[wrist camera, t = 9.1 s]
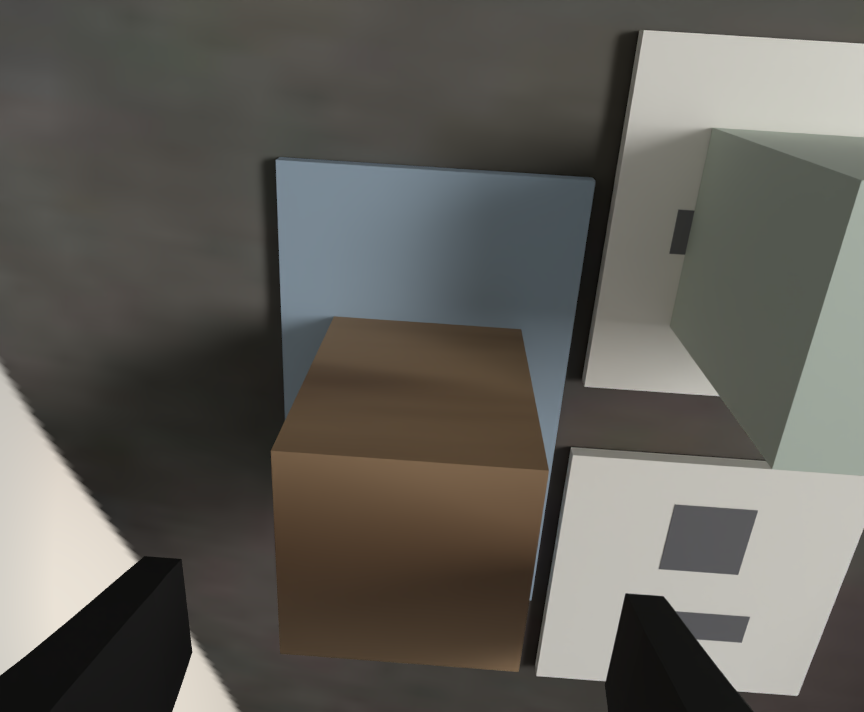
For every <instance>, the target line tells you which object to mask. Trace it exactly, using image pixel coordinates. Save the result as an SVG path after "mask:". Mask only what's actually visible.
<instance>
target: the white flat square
mask: <svg viewBox="0 0 864 712" xmlns="http://www.w3.org/2000/svg"><path fill="white" fill-rule="evenodd" d="M712 128H727V129H743V130H758V131H774V132H789V133H805V134H821V135H836V136H852V137H864V44H858V43H842V42H826V41H810V40H794V39H778V38H762V37H746V36H729V35H713V34H697V33H681V32H665V31H649V30H639V35H638V41H637V47H636V53H635V59H634V66H633V72H632V78H631V84H630V90H629V96H628V102H627V108H626V114H625V120H624V126H623V133H622V139H621V145H620V151H619V157H618V163H617V169H616V175H615V181H614V187H613V193H612V200H611V206H610V212H609V218H608V224H607V230H606V236H605V242H604V248H603V254H602V260H601V267H600V273H599V279H598V285H597V291H596V297H595V303H594V309H593V315H592V321H591V327H590V333H589V340H588V346H587V352H586V358H585V364H584V370H583V376H582V381H583V384H584V387H595V388H610V389H624V390H638V391H653V392H667V393H681V394H696V395H710V396H719V395H718V393H717V392H716V390H715V389H714V388H713V386H712V385H711V383H710V382H709V381H708V379H707V378H706V376H705V375H704V374H703V372H702V371H701V369H700V368H699V367H698V365H697V364H696V363H695V361H694V360H693V358H692V357H691V356H690V354H689V353H688V351H687V350H686V349H685V347H684V346H683V344H682V343H681V342H680V340H679V339H678V337H677V336H676V335H675V333H674V332H673V330H672V329H671V328H670V322H671V318H672V313H673V309H674V304H675V299H676V295H677V290H678V285H679V281H680V276H681V271H682V267H683V262H684V257H685V253H686V248H687V244H688V239H689V234H690V230H691V225H692V220H693V216H694V211H695V206H696V202H697V197H698V192H699V188H700V183H701V179H702V174H703V169H704V165H705V160H706V155H707V151H708V146H709V141H710V137H711V132H712Z"/></svg>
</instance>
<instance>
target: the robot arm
mask: <svg viewBox="0 0 864 712" xmlns="http://www.w3.org/2000/svg"><path fill="white" fill-rule="evenodd" d="M191 654H192V646H191V637H190V629H189V620H188V611H187V603H186V594H185V585H184V576H183V568H182V559H173V558H160V557H147V556H144V557H143V558H142V559H141V560H140V561H138V562H137V563H136V564H135V565H134V566H132V567H131V568H130V569H129V570H127V571H126V572H125V573H124V574H123V575H122V576H120V577H119V578H118V579H117V580H116V581H115V582H113V583H112V584H111V585H110V586H109V587H108V588H106V589H105V590H104V591H103V592H102V593H101V594H99V595H98V596H97V597H96V598H95V599H94V600H92V601H91V602H90V603H89V604H88V605H86V606H85V607H84V608H83V609H82V610H81V611H79V612H78V613H77V614H76V615H75V616H74V617H73V618H71V619H70V620H69V621H68V622H66V623H65V624H64V625H63V626H62V627H60V628H59V629H58V630H57V631H55V632H54V633H53V634H52V635H51V636H49V637H48V638H47V639H46V640H45V641H43V642H42V643H41V644H40V645H38V646H37V647H36V648H35V649H34V650H32V651H31V652H30V653H29V654H28V655H26V656H25V657H24V658H23V659H21V660H20V661H19V662H17V663H16V664H15V665H14V666H12V667H11V668H10V669H8V670H7V671H6V672H4V673H3V674H2V675H0V712H172V710H173V708H174V705H175V702H176V699H177V696H178V694H179V691H180V688H181V685H182V682H183V679H184V676H185V672H186V670H187V667H188V664H189V660H190V657H191ZM605 689H606V697H607V705H608V712H754V711H753V710H752V709H751V708H750V707H749V705H748V704H747V703H746V702H745V700H744V699H743V698H742V697H741V696H740V694H739V693H738V692H737V691H736V689H735V688H734V687H733V686H732V685H731V683H730V682H729V681H728V679H727V678H726V677H725V676H724V674H723V673H722V672H721V671H720V669H719V668H718V667H717V665H716V664H715V663H714V662H713V660H712V659H711V658H710V656H709V655H708V654H707V652H706V651H705V650H704V649H703V647H702V646H701V645H700V643H699V642H698V641H697V639H696V638H695V637H694V635H693V634H692V633H691V631H690V630H689V629H688V627H687V626H686V625H685V623H684V622H683V621H682V619H681V618H680V617H679V615H678V614H677V613H676V611H675V610H674V609H673V607H672V606H671V605H670V603H669V602H668V601H667V600H666V599H665V597H664V596H655V595H642V594H629V593H625V597H624V602H623V606H622V611H621V615H620V620H619V624H618V629H617V633H616V638H615V642H614V646H613V651H612V655H611V660H610V664H609V669H608V673H607V678H606V682H605Z"/></svg>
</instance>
